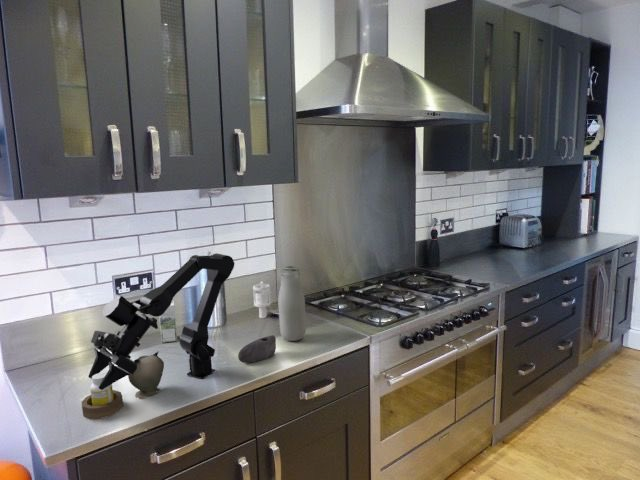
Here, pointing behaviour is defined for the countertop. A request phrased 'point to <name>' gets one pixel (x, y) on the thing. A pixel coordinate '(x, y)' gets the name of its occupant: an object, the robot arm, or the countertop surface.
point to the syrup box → (168, 325)
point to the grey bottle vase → (291, 305)
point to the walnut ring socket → (102, 407)
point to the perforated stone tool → (258, 350)
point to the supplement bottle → (100, 391)
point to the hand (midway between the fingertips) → (94, 383)
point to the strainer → (261, 298)
